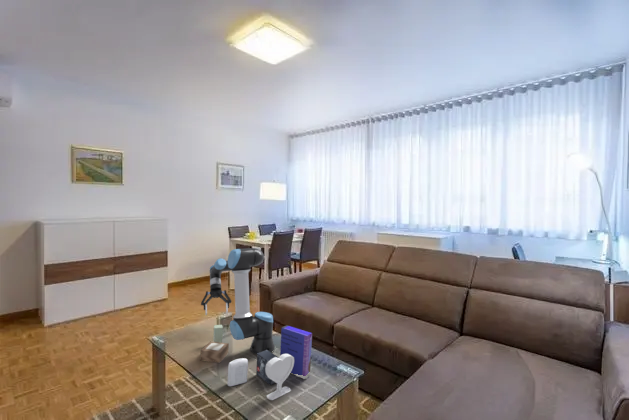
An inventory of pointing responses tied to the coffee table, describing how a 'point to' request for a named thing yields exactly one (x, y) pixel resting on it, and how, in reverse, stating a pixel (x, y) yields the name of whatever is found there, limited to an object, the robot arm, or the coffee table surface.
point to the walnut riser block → (214, 351)
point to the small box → (264, 365)
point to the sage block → (218, 333)
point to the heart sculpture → (279, 373)
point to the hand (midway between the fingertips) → (216, 313)
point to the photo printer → (237, 371)
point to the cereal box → (297, 348)
